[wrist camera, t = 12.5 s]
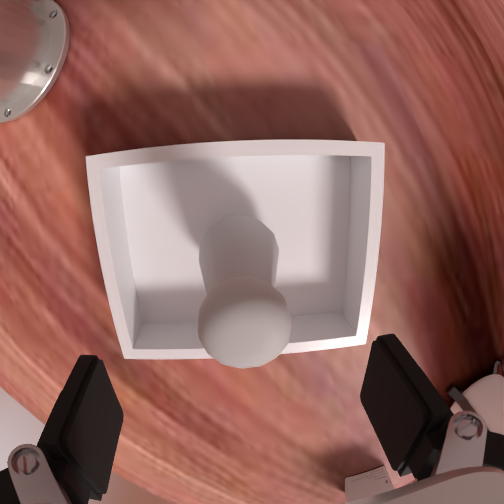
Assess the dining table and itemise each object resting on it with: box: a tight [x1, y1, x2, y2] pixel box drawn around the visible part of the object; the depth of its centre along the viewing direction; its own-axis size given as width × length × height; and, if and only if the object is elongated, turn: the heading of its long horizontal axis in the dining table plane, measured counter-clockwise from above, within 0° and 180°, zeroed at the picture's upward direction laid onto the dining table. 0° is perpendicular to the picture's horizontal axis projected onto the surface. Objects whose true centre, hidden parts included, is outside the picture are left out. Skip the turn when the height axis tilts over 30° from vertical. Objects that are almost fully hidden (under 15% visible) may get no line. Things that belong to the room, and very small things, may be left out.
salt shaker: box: [198, 215, 292, 368], centre depth 19 cm, size 6×6×13 cm
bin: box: [86, 140, 385, 359], centre depth 24 cm, size 16×20×5 cm
